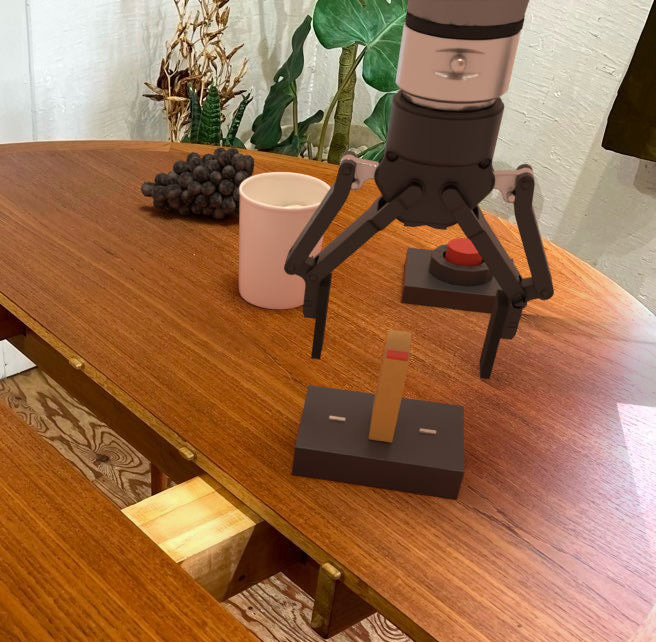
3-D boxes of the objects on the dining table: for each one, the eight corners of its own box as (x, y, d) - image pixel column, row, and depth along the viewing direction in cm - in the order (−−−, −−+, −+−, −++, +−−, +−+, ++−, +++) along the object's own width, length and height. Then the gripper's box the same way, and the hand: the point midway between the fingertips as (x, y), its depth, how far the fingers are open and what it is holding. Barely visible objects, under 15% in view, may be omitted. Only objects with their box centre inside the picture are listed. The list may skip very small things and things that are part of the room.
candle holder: (215, 283, 111) (221, 181, 103) (287, 266, 114) (298, 165, 106) (262, 321, 104) (272, 214, 96) (336, 301, 107) (351, 197, 100)
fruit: (137, 144, 119) (258, 148, 117) (146, 144, 127) (261, 148, 125) (135, 217, 122) (253, 222, 120) (144, 212, 130) (256, 217, 128)
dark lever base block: (456, 432, 88) (464, 404, 86) (456, 499, 81) (465, 470, 79) (304, 411, 91) (308, 383, 89) (291, 474, 83) (295, 445, 81)
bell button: (481, 254, 109) (484, 239, 108) (481, 270, 106) (485, 255, 105) (444, 250, 109) (448, 236, 108) (444, 265, 106) (447, 251, 105)
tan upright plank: (372, 407, 86) (388, 326, 81) (395, 411, 86) (412, 329, 80) (368, 439, 82) (384, 356, 77) (392, 443, 82) (409, 359, 77)
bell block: (508, 276, 112) (517, 243, 110) (512, 316, 105) (522, 283, 102) (404, 264, 115) (410, 232, 112) (400, 303, 107) (407, 270, 105)
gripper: (261, 98, 66) (243, 365, 79) (652, 124, 61) (561, 403, 75) (276, 66, 71) (257, 321, 85) (635, 88, 66) (553, 354, 80)
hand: (399, 360), depth 80 cm, fingers open, 13 cm apart
